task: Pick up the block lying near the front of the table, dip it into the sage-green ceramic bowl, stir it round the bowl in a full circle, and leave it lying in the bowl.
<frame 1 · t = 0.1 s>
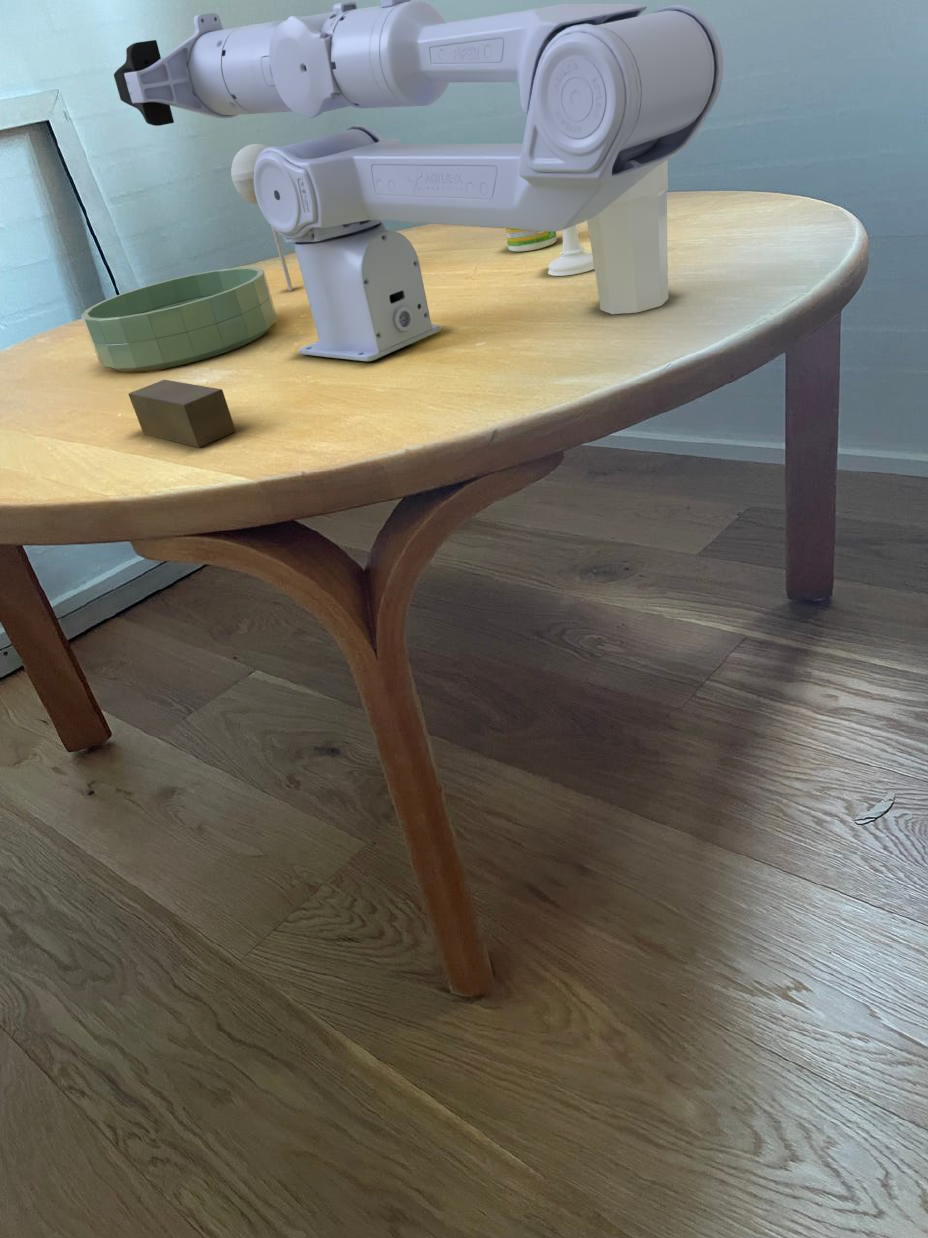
hand: (161, 80, 78), 22 cm above the table, tool horizontal, fingers open, 7 cm apart
cup: (634, 306, 71), on the table
supplement bottle: (532, 247, 100), on the table
chess piece: (574, 270, 86), on the table
lollipop: (291, 291, 104), on the table
bowl: (191, 344, 89), on the table
block: (188, 432, 64), on the table
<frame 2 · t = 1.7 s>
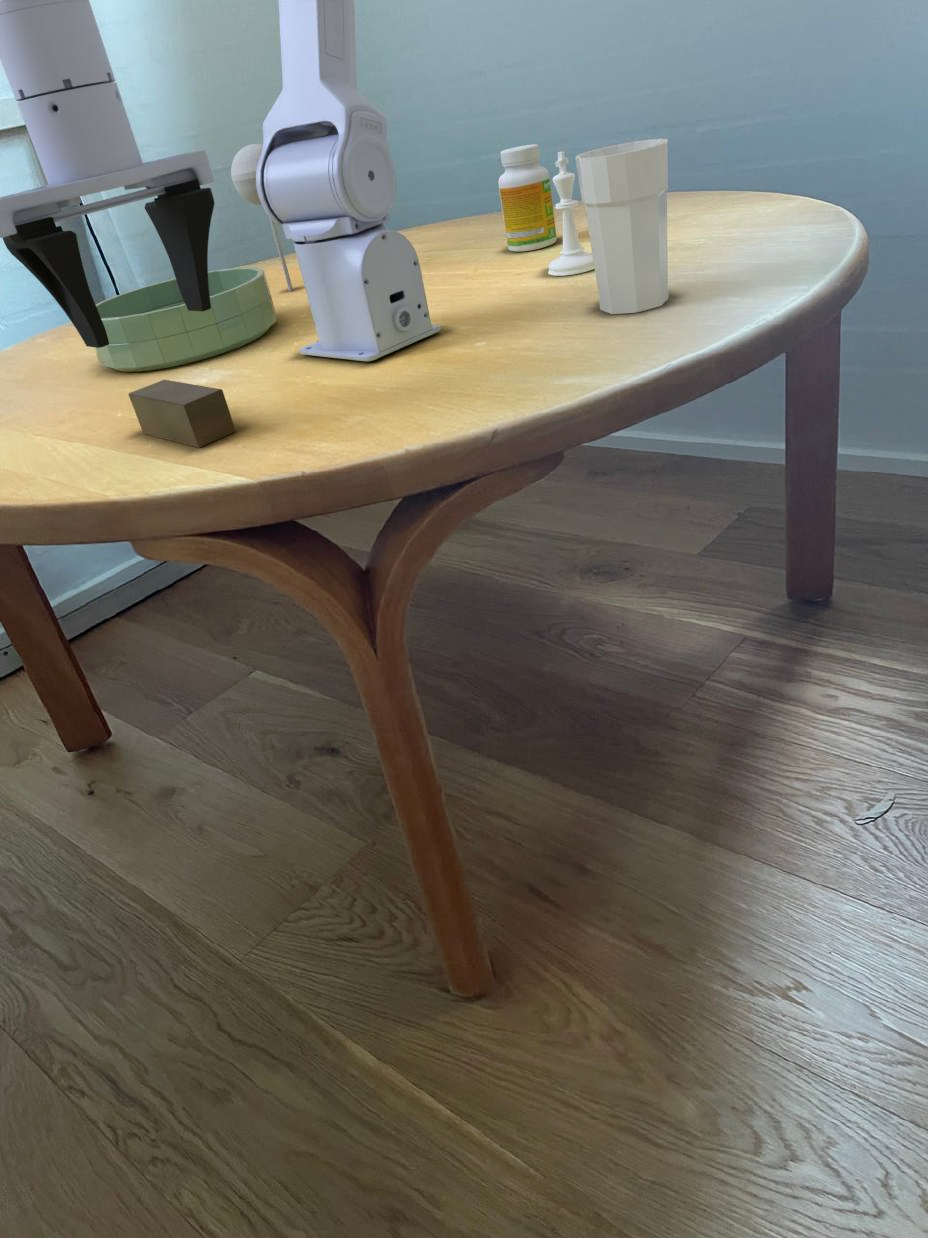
hand: (150, 326, 60), 7 cm above the table, tool pointing down, fingers open, 7 cm apart
nothing on the table moved.
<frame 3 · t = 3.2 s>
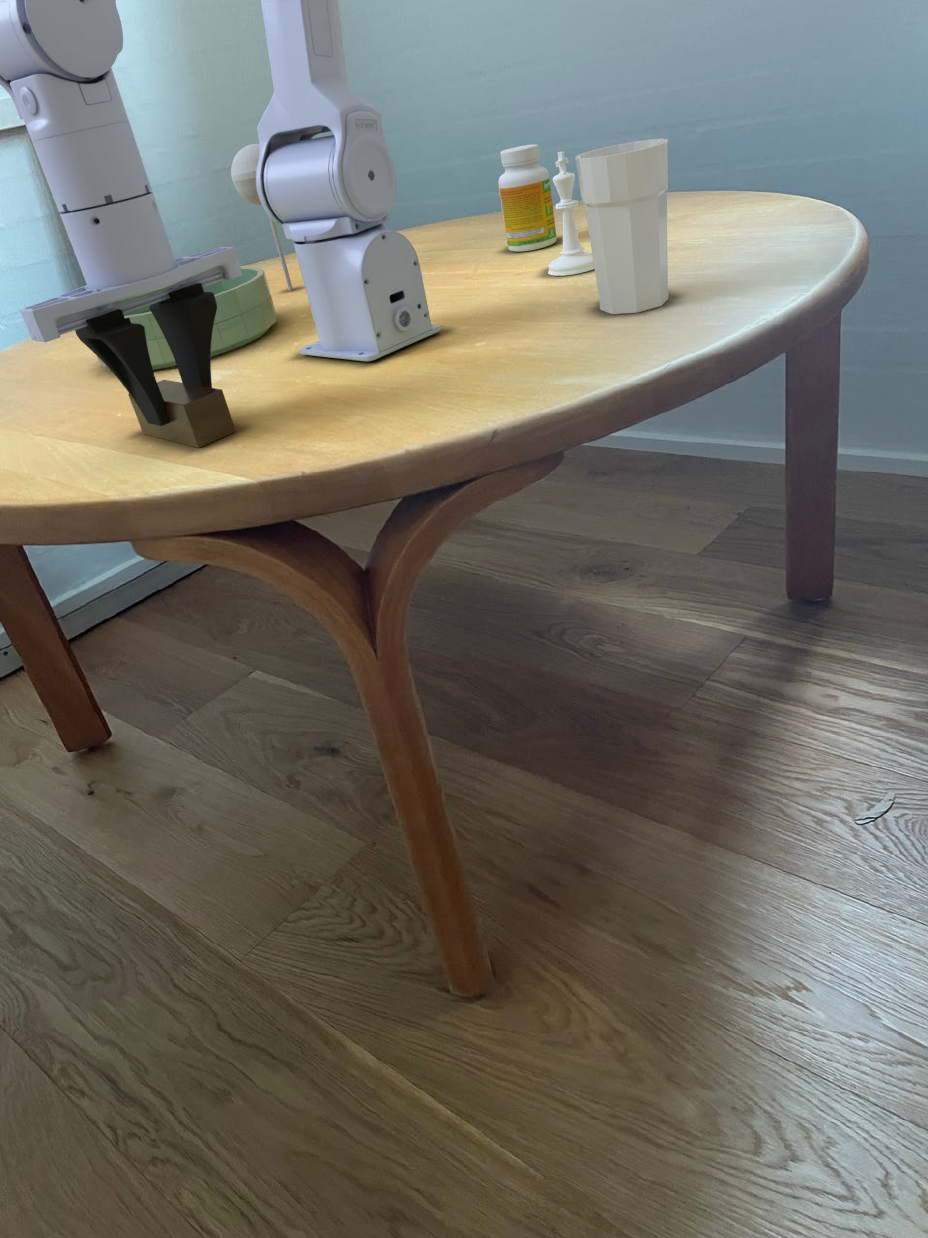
hand: (181, 413, 63), 1 cm above the table, tool pointing down, fingers closed on block, 3 cm apart
block: (188, 432, 64), on the table, touching gripper
everything else where it was.
when the fingers open (2 cm above the table, at t = 10.2 s): block stays where it is, resting on bowl.
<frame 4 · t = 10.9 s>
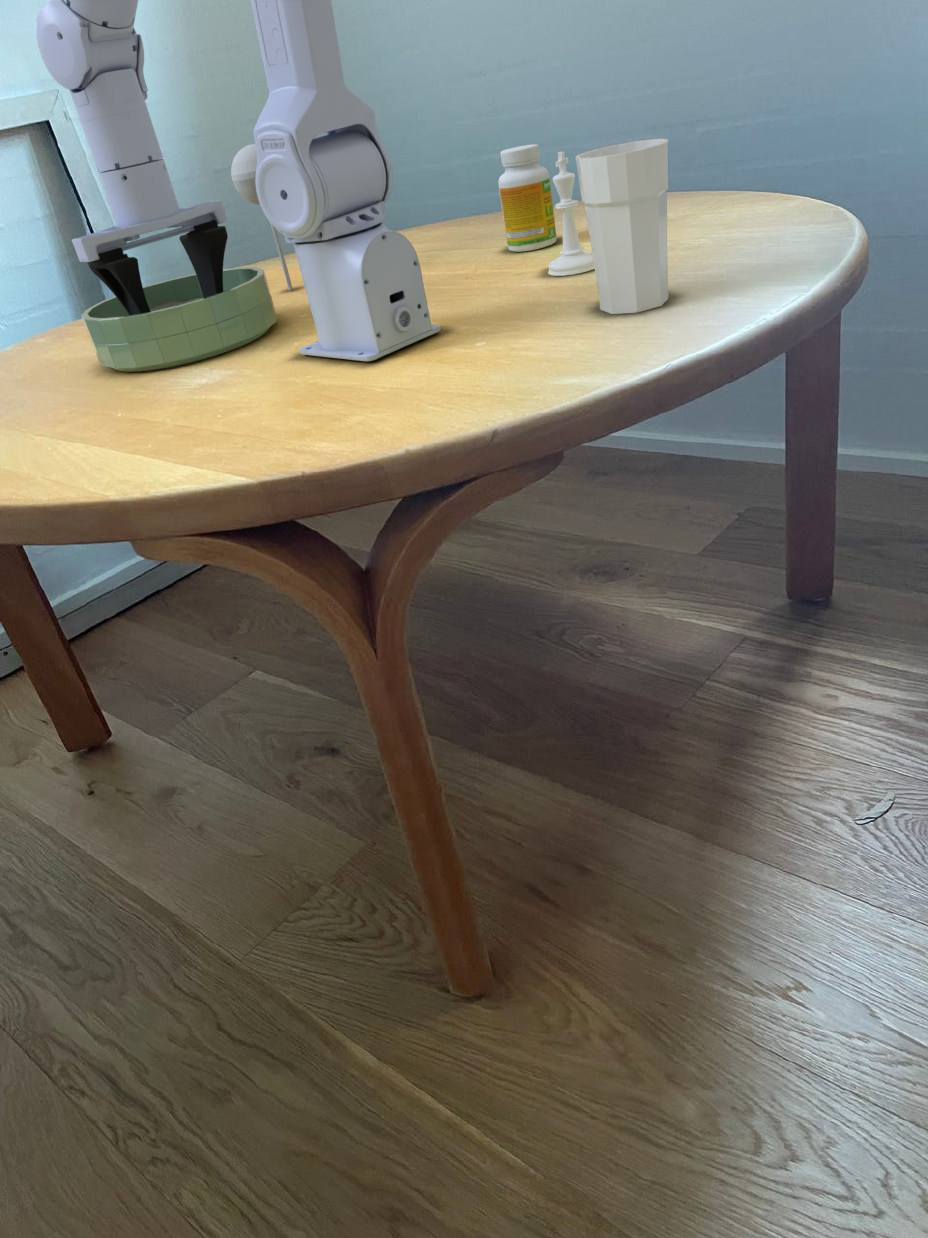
hand: (183, 320, 87), 2 cm above the table, tool pointing down, fingers open, 7 cm apart
block: (188, 338, 88), point 1 cm above the table, touching bowl
everything else where it was.
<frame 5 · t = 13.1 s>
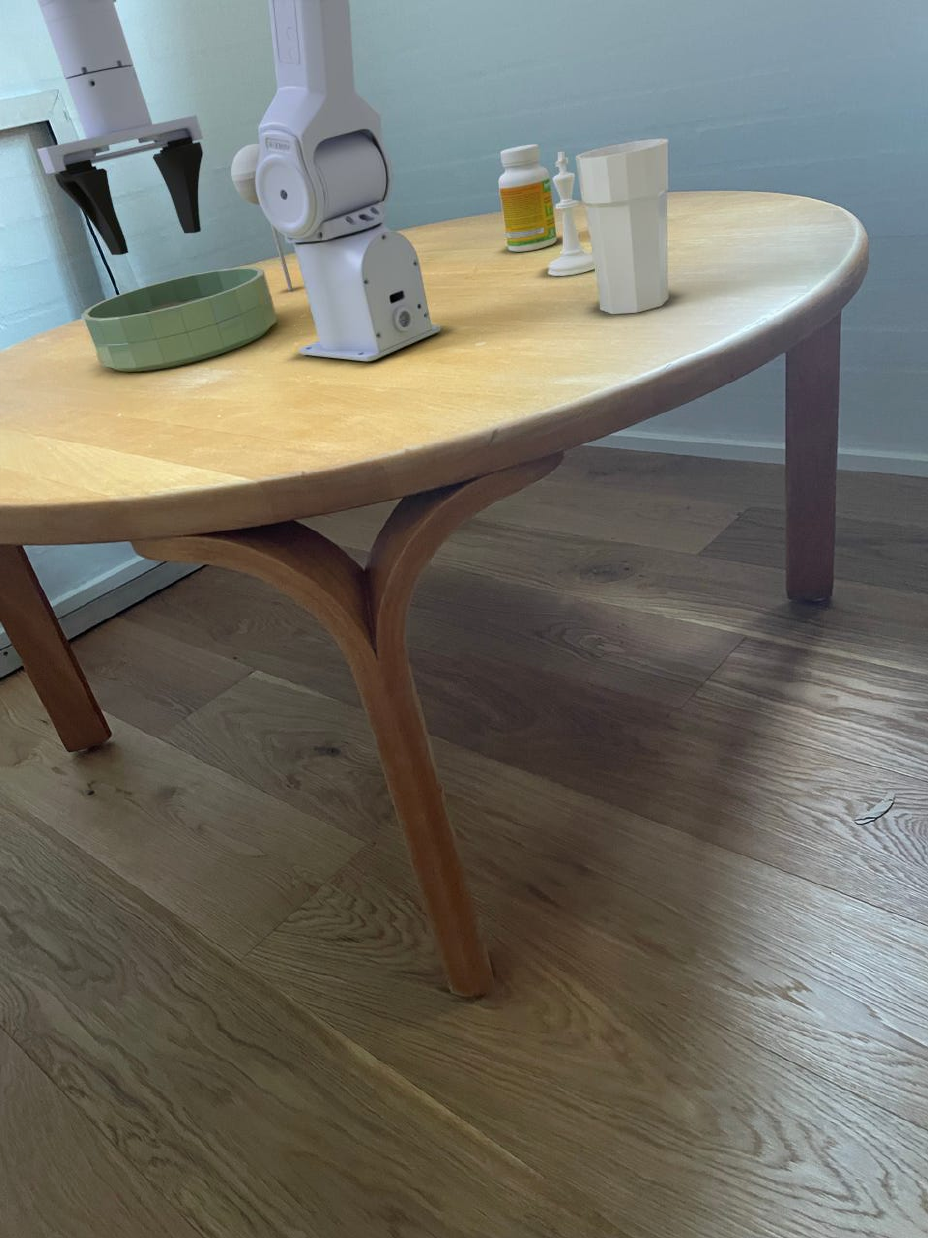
hand: (157, 242, 84), 9 cm above the table, tool pointing down, fingers open, 7 cm apart
nothing on the table moved.
at the end: block inside the target area in the bowl (0.1 cm from its centre), point 0.6 cm above the bowl's base; the gripper is holding nothing; block moved 29.2 cm from its start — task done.
